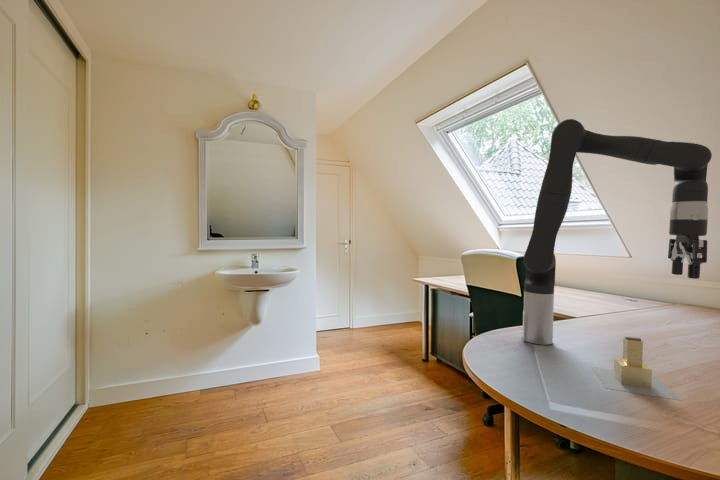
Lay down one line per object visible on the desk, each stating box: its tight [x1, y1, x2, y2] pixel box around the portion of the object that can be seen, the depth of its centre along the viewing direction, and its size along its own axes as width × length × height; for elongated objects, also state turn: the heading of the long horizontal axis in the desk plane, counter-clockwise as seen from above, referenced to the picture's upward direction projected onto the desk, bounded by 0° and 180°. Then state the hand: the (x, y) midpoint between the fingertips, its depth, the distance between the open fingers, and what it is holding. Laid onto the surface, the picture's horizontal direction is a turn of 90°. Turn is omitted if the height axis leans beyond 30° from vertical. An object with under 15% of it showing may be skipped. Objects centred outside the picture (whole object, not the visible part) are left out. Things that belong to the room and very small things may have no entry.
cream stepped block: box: [613, 336, 653, 389], centre depth 82 cm, size 6×6×11 cm
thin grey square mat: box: [591, 366, 683, 402], centre depth 83 cm, size 14×14×4 cm
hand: (684, 276), depth 94 cm, fingers open, 8 cm apart
